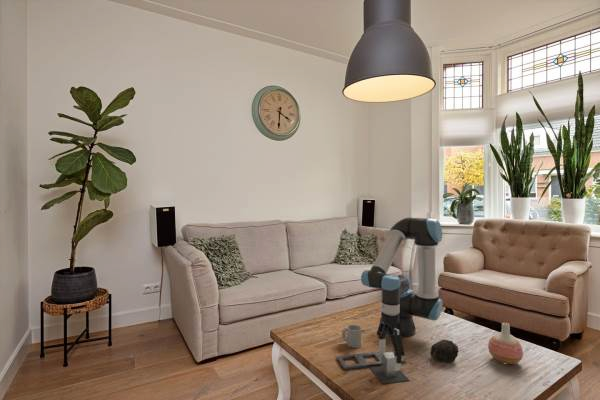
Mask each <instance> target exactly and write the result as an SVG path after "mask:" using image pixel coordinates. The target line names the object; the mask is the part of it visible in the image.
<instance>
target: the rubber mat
mask: <svg viewBox="0 0 600 400" xmlns="http://www.w3.org/2000/svg"><path fill="white" fill-rule="evenodd" d="M369 368H370V370H371V371H372V373H373V374H374V375H375V376H376V378H377V379H378V380H379V382H380V383H381V384H382V385H389V384H396V383H403V382H410V379H409V378H408V377H407V376H406V375H405V374H404V373H403V371H402V369H401V370H398V376H395V377H386V376H385V375H384V374H383V373H382V371H381V366H376V367H369Z"/></svg>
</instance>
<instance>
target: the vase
mask: <svg viewBox="0 0 600 400" xmlns="http://www.w3.org/2000/svg"><path fill="white" fill-rule="evenodd" d="M510 330H511V326H510V323H507V322H502V323H501V331H500V332H497V333H495V334H493V335H492V336H491V337H490V339H489V341H488V342H487V343H488V344H487V348H488V351H489V354H490V355H491V356H492V357H493V358H494V359H495V360H496V362H498V361H499V362H498V363H500V362H502V363H506V364H513V365H515V364H518V363H519V362H520V361H521V360H522V359H523V356H524V351H523V347H522V344H521V343H520V341H519V340H518V339H517V338H516V337H515V336H514V335H512V334H511V331H510ZM502 363H501V364H502Z"/></svg>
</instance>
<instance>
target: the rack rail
mask: <svg viewBox="0 0 600 400" xmlns="http://www.w3.org/2000/svg"><path fill="white" fill-rule="evenodd" d="M386 352H393V353H394V354H395V350H394V349H392V350H391V349H390V350H385V353H386ZM365 358H375V359H376V360H377V361H370V362H368V361H367V360H366V359H365ZM345 360H346V361H347V360H348V361H349V360H355V362H356V363H352V364H346V362H345ZM336 361H338V363H339V365H340V366H341V368H342V369H343V371H349V370H359V369H366V368H371V367H380V366H381V354H379V351H373V352H363V353H362V352H361V353H354V354H346V355H336ZM406 363H407V360H406V359H405V358H404V356H401V365H402V364H406Z"/></svg>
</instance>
